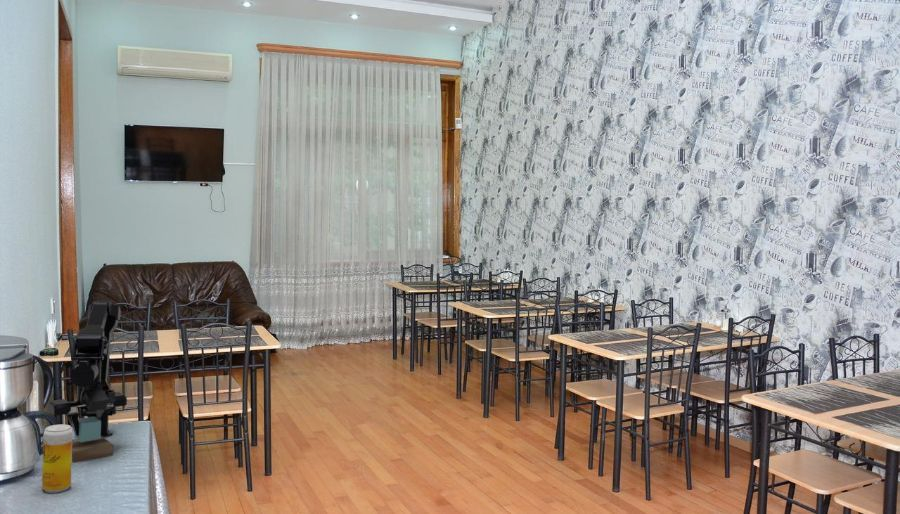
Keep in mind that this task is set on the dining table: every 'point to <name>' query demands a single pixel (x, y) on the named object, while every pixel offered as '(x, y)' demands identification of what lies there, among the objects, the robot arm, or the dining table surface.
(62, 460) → the beer can
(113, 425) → the dining table surface
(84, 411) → the robot arm
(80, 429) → the block
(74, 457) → the walnut base
